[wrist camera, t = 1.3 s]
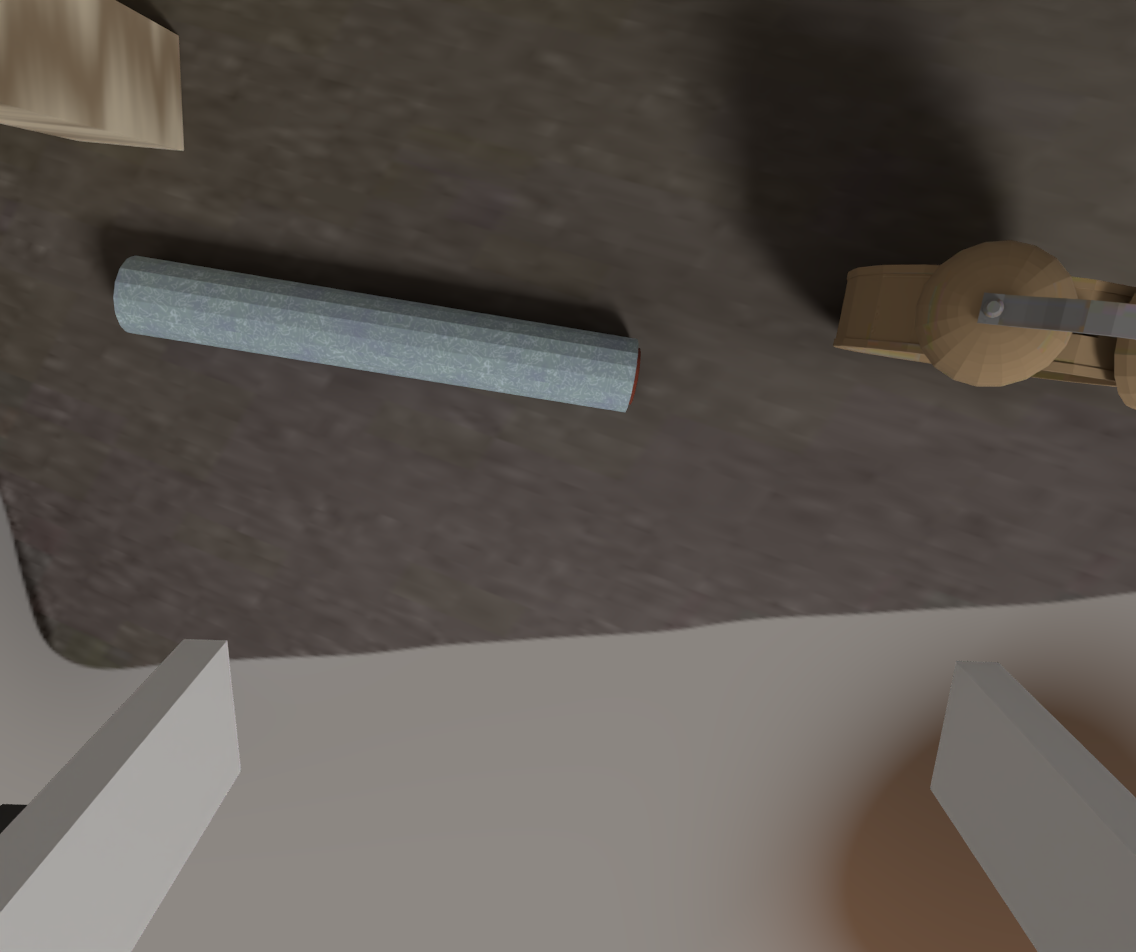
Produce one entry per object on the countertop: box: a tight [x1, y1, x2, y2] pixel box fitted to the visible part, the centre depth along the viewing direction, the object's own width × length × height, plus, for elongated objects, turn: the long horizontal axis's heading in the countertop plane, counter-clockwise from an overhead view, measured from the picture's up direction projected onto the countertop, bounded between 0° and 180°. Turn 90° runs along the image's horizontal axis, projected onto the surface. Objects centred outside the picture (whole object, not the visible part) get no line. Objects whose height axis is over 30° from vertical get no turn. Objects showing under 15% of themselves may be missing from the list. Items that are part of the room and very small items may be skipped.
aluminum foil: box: [113, 256, 641, 412], centre depth 36 cm, size 23×7×3 cm, turn 81°
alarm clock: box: [833, 240, 1136, 410], centre depth 29 cm, size 11×5×15 cm, turn 82°
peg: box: [0, 0, 184, 151], centre depth 27 cm, size 4×4×13 cm
